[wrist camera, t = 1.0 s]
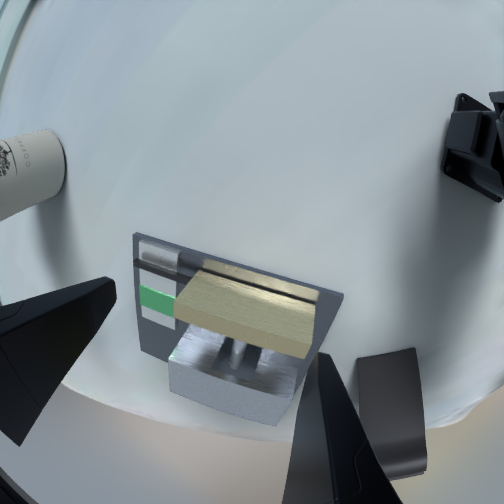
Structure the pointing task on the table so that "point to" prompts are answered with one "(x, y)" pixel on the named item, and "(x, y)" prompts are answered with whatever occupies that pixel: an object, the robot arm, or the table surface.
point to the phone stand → (393, 412)
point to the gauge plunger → (241, 313)
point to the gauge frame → (216, 345)
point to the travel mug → (29, 171)
